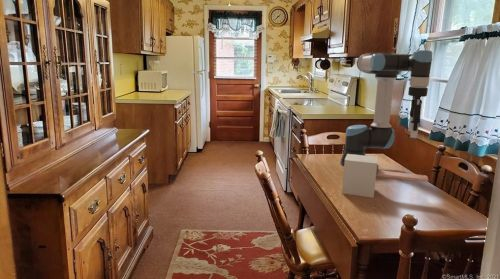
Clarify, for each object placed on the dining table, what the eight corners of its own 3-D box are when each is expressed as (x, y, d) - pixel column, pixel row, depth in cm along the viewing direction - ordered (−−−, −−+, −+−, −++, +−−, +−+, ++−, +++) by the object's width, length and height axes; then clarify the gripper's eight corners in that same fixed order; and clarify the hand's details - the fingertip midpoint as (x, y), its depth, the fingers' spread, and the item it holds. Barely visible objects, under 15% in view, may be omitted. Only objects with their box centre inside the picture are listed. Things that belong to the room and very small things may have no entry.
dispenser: (344, 185, 182) (347, 153, 179) (376, 189, 177) (379, 157, 174) (341, 193, 171) (344, 159, 168) (375, 197, 166) (379, 163, 163)
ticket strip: (370, 171, 174) (370, 169, 173) (426, 177, 166) (427, 175, 165) (370, 174, 168) (370, 172, 168) (428, 181, 160) (428, 179, 160)
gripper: (407, 83, 173) (401, 128, 178) (411, 89, 150) (405, 139, 155) (424, 84, 171) (418, 129, 176) (431, 90, 148) (424, 141, 153)
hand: (412, 134), depth 166 cm, fingers open, 13 cm apart
